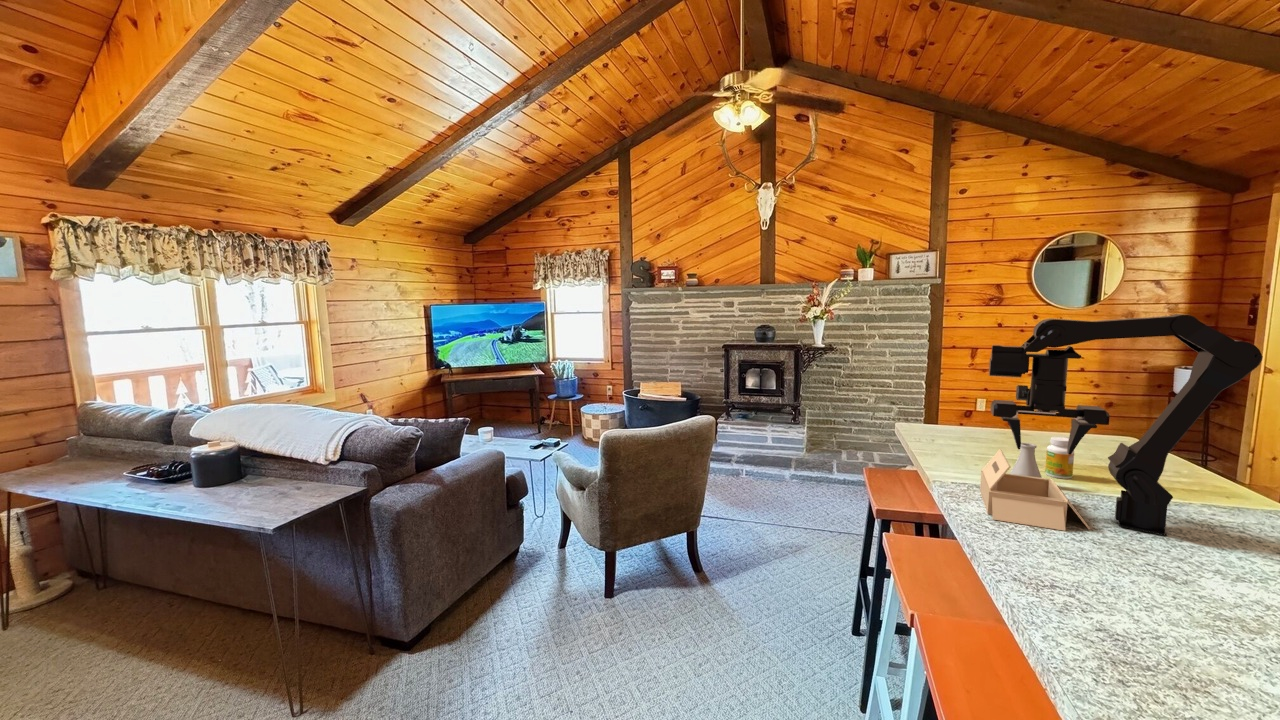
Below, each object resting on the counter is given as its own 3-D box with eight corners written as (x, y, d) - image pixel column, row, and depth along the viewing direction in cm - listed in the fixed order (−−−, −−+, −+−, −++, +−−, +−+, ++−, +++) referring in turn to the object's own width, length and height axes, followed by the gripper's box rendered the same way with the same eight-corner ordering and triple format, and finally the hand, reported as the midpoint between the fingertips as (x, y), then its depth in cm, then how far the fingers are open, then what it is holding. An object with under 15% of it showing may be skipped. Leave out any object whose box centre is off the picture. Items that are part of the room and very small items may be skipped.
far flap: (983, 470, 116) (1001, 449, 114) (991, 489, 104) (1010, 467, 102) (982, 469, 116) (999, 448, 114) (989, 488, 104) (1008, 466, 102)
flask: (1052, 489, 118) (1055, 448, 116) (1021, 489, 118) (1024, 448, 117) (1028, 478, 125) (1031, 440, 124) (999, 479, 125) (1002, 440, 124)
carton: (1067, 498, 112) (1068, 476, 111) (1095, 536, 94) (1097, 510, 93) (978, 486, 120) (979, 466, 119) (989, 519, 102) (990, 495, 101)
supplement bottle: (1040, 474, 127) (1042, 437, 126) (1051, 470, 130) (1054, 434, 129) (1065, 480, 123) (1068, 442, 122) (1076, 477, 125) (1079, 439, 124)
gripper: (1095, 376, 105) (1089, 447, 107) (989, 371, 115) (985, 437, 116) (1113, 383, 96) (1106, 461, 97) (995, 378, 105) (991, 449, 107)
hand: (1043, 451), depth 105 cm, fingers open, 8 cm apart
